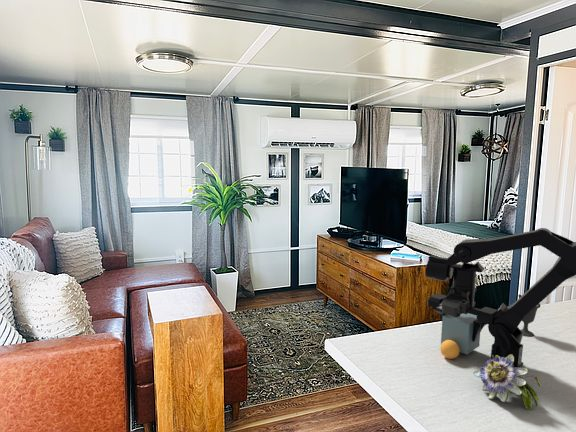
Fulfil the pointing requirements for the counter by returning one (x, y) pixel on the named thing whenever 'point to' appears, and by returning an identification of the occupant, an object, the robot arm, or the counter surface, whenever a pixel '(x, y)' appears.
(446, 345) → the ball
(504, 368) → the passion flower
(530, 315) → the sundae
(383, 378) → the counter surface
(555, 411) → the counter surface
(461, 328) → the grey-blue slanted prism
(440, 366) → the counter surface
